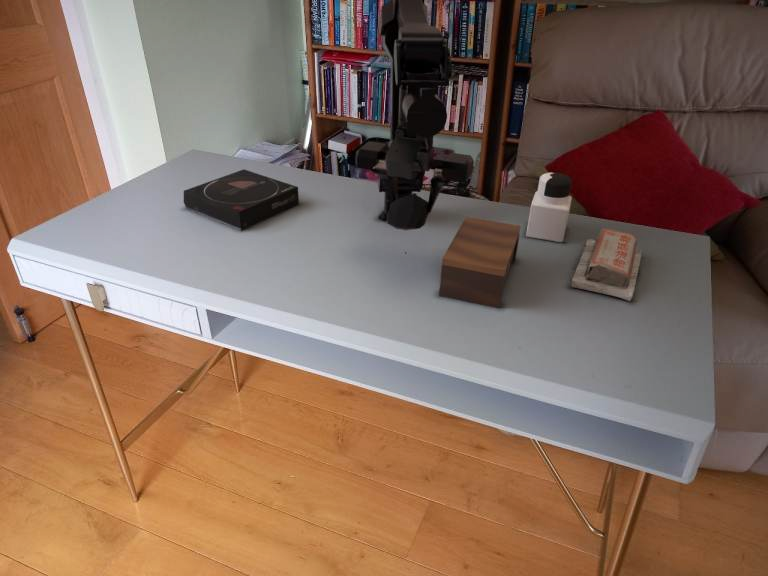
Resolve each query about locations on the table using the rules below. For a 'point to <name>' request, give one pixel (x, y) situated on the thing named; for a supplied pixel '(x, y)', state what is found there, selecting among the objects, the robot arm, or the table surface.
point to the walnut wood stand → (479, 261)
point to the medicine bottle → (550, 208)
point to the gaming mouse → (408, 212)
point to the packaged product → (609, 265)
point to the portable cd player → (241, 198)
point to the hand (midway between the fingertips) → (411, 209)
